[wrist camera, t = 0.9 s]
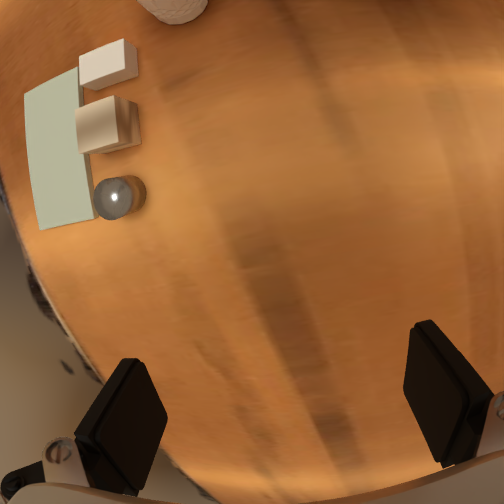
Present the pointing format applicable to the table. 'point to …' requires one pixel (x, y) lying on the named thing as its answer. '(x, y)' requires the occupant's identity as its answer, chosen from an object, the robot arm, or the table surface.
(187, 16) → the white cup
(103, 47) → the white block
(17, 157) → the table surface
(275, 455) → the table surface
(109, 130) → the maple block
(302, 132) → the table surface
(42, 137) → the sage board
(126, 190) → the metal cylinder
